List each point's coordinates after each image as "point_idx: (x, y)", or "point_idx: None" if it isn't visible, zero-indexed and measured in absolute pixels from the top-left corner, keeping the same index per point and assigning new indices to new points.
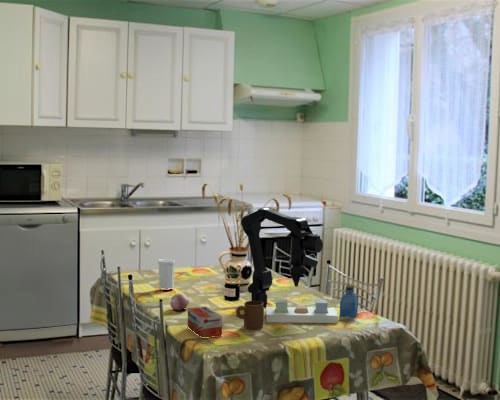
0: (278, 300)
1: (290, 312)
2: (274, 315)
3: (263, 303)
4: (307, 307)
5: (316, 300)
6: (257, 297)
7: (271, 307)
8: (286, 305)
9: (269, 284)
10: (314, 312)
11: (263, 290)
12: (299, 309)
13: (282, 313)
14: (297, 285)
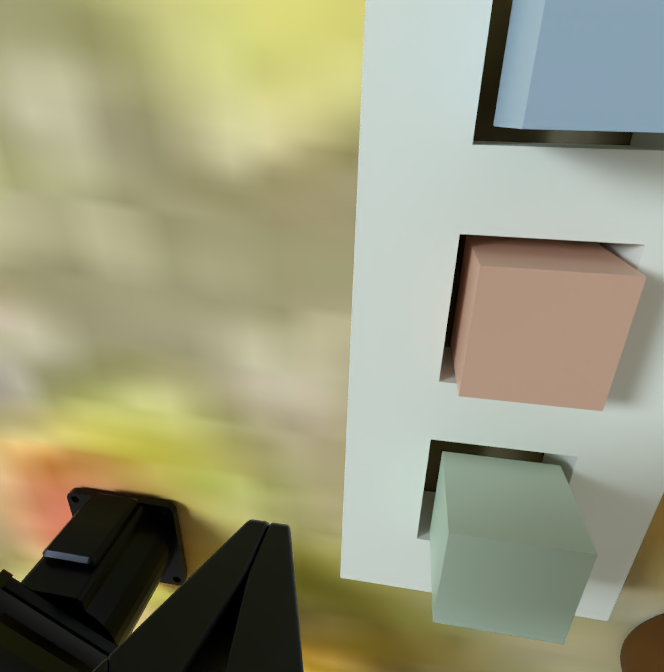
0: (475, 611)
1: (573, 438)
2: (625, 569)
3: (144, 531)
4: (365, 220)
5: (548, 109)
6: (139, 613)
7: (366, 550)
8: (581, 530)
9: (17, 665)
10: (635, 156)
11: (61, 626)
12: (610, 369)
13: (596, 510)
14: (289, 548)
